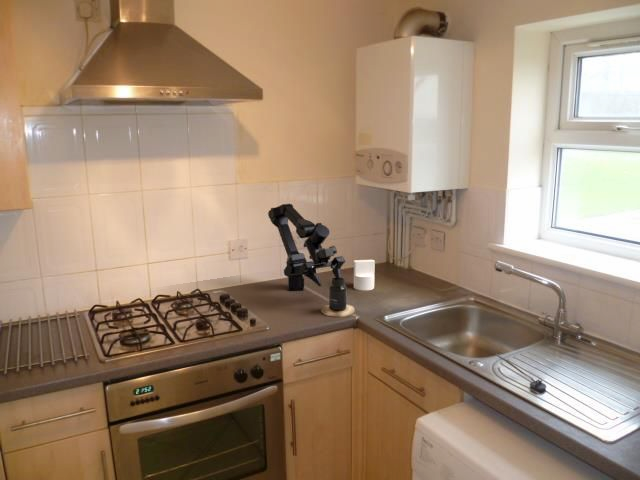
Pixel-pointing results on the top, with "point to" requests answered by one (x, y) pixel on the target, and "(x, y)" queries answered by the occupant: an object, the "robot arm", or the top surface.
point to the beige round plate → (346, 312)
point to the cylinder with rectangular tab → (364, 274)
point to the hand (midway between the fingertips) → (330, 284)
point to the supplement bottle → (337, 295)
